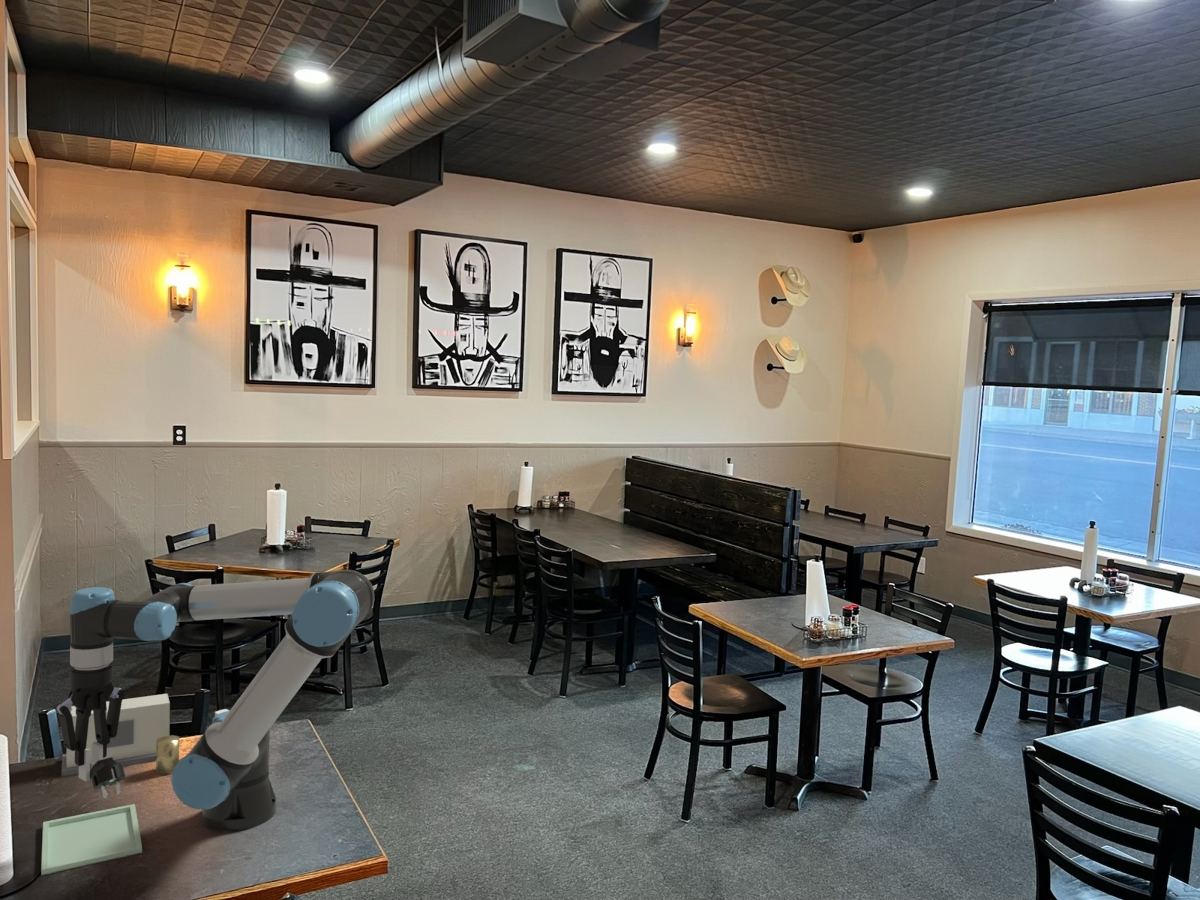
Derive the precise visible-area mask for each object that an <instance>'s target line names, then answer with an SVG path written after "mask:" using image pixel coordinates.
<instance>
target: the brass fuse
mask: <svg viewBox="0 0 1200 900" xmlns="http://www.w3.org/2000/svg"><path fill="white" fill-rule="evenodd" d="M179 760H180V736H178V735H172V734H171V735H170V734H169V736H164V737H161V738H159V739H157V741H156V761H155V765H156V766H155V773H156V775H158V776H170V775H172V772H173V770H174V768H175V766H176V765H177V763H178V762H179Z"/></svg>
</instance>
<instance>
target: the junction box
mask: <svg viewBox="0 0 1200 900" xmlns="http://www.w3.org/2000/svg"><path fill="white" fill-rule="evenodd" d="M109 701H110V700H109ZM109 701H108V700H107V701H106V706H107V711H106V720H107V714H108V707H109ZM170 702H171V701H170V699H169V694H168V693H162V694H155V695H147V696H139V697H132V698H125V699H124V698H123V700H122V704H121V710H120V717H119V723H118V730H117V735H116V737H114V738H110V739H109V740H110V743H109V744H107V755H106V757H105V758H103V759H107V758H110V757H112V758H113V760H114V761H115V762H118V763H120V764H122V765H123V767H127V766H133V765H139V764H145V763H150V762H151V763H152V762H156V741H157V739H159V738H161V737H164V736H170V724H171V723H170V718H171V717H170V714H171V712H170V711H171V710H170V709H171V708H170V707H171V703H170ZM71 707H72V711H71V714H72V718H73V725H74V731H75V727H76V717H77V715H76V707H75V706H74V705H71ZM93 742H97V740H96V735H95V724H94V714H93V710H92V711H91V716H90V717H89V725H88V734H87V743H86V748H89V749H90V770H91V768H92V743H93ZM61 755H62V756H61V777H69V776H75V775H79V766H78V765H76V764H75V750H74V751H71V750H69V749H67V748H66V753H63V754H61Z"/></svg>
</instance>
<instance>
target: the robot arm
mask: <svg viewBox="0 0 1200 900" xmlns="http://www.w3.org/2000/svg"><path fill="white" fill-rule="evenodd" d="M374 602H375V590H374V587H373V584H372V582H371V581H370V580H369V578H368V577H366V576H365V575H364V573H363V574H362V573H361V572H359V571H357V570H352V569H339V570H329V571H319V572H317V571H316V572H314V573H312V574H311V576H310V577H304V578H303V577H302V578H288V579H273V580H272V579H271V580H257V581H243V582H231V583H230V582H229V583H215V584H202V585H193V584H191V583H188V582H187V583H186V582H181V583H176V584H172V585H170V586H168V587H166V588H165V589H163V590H161V591H158V592H157V593H154V594H152V595H149V596H147V597H146V598H143V599H141V600H137V601H135V600H134V601H133V600H119V599H115V593H114V590H113V589H112V588H108V587H103V586H96V587H95V586H94V587H85V588H82V589H79V590H78V589H77V591H75V592H73V593H72V595H71V597H70V611H69V613H68V614H69V620H70V621H69V622H70V624H69V625H70V642H69V643H70V646H69V647H70V648H69V654H70V655H69V664H70V666H71V667H70V669H69V686H70V691H69V693H68V695H67V699H66V700H65V701H63V702H62V703H56V704H55V705H54V709H55V711H56V713H57V714H58V715H59V716H58V717H59V722H60V727H61V728H60V729H61V734H62V740H63V747H64V748H65V749H66V750H67V749H69V750H71V751H74V750H75V764H76V765H78V766H79V774H78V778H79V779H80V780H83V781H84V782H90V781H91V780H90V749H89V748H86V743H87V734H88V725H89V717H90V716H91V711H92V710H93V714H94V724H95V735H96V740H97V742H93V743H92V766H93V765H94V764H95V763H96V762H97V761H99V760H103V758H105V757H106V755H107V744H109V743H110V740H109V739H110V738H114V737H116V735H117V730H118V723H119V717H120V710H121V704H122V700H123V699H124V698H125V696H126V693H127V691H126V689H124V688H121V687H118V686H117V687H115V686H114V684H113V682H112V681H113V680H114V679H113V678H114V665H113V663H112V662H113V661H114V639H123V640H136V641H144V642H145V641H147V642H152V641H164V640H167V639H168V638H170V637H171V636H172V633H173V632H174V630H175V629H176V625H177V623H179V622H180V623H181V622H195V621H205V620H206V621H207V620H221V619H239V618H253V617H255V618H256V617H271V616H284V615H290V616H289V617H288V618H287V621H285V623H284V630H285V636H284V637H283V638H282V640H281V642H280V643H279V644H278V645H277V646H276V648H275V649H274V650H273V652H272V653H271V655H270V656H269V658H268V659H267V660H266V661H265V663H264V664H263V666H262V667H261V668H260V669H259V671H258V672H257V673H256V675H255V677H253V679H252V680H251V682H249V685H248V686H247V687H246V688H245V690H244V691H243V692H242V694H241V695H240V697H239V698H238V699H237V700H236V702H235V703H234V704H233V706H232V707H231V709H230V710H229V711H226V712H222V713H219V714H217V715H216V716H215V715H214V716H213V718H212V723H211V724H210V725H209V726H208V727H207V728H206V730H204V732H203V734H202V735H201V736H200V738H199V739H198V741H197V742H196V743H195V745H194V746H193V747H192V748H191V750H189V752H188V753H187V754H186V755H184V756H183V757H182V758H179V762H178V763H177V765H176V766H175V768H174V770H173V772H172V774H171V776H170V777H171V779H170V781H171V786H172V787H173V789H172V790H173V793H174V795H175V796H176V797H177V799H178V800H179V801H180V802H181V803H182V804H184V805H185V806H187V807H189V808H191V809H195V810H199V811H201V810H202V813H201V815H202V816H201V817H202V818H201V819H202V823H203V825H204V826H205V827H207V828H208V829H210V830H213V831H218V832H238V831H245V830H249V829H252V828H256V827H258V826H261V825H263V824H265V823H267V822H268V821H270V820H271V819H272V818H273V817H274V815H275V814H276V813H277V798H276V795H275V794H276V793H275V791H274V789H273V786H272V782H271V780H270V777H269V775H270V771H269V769H270V739H271V738H270V737H271V735H270V734H271V728H272V726H273V725H274V723H275V722H276V721H277V719H278V718H279V717H280V715H281V714H282V713H283V711H284V710H285V709H286V708H287V706H288V705H289V703H290V702H291V700H292V699H293V698H294V697H295V696H296V694H297V693H298V691H299V690H300V689H301V687H302V686H303V684H304V683H305V682H306V681H307V679H308V678H309V677H310V676H311V674H312V672H313V671H314V670H315V669H316V667H317V666H318V664H319V663H320V662H321V661H322V659H326V658H332V657H333V656H334V655H335V654H336V653H337V651H339V649H340V648H341V646H342V645H343V644H344V643H345V641H346V640H347V638H349V635H350V634H351V633H352V631H353V630H355V628H356V626H358V625H359V624H360V623H361V622H362V621H363V620H364V619H365V618H366V617H367V616H369V614H370V612H371V611H372V609H373V607H374ZM108 700H109V707H108V714H107V720H106V711H107V706H106V702H108ZM71 706H75V707H76V715H77V717H76V727H75V731H74V725H73V718H72V714H71V711H72V707H71Z"/></svg>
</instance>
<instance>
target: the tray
mask: <svg viewBox="0 0 1200 900" xmlns="http://www.w3.org/2000/svg"><path fill="white" fill-rule="evenodd" d="M41 843H42V844H41V865H40V866H41V870H40V872H41V875H40V876H42V877H43V876H46V875H51V874H53V873H59V872H63V871H67V870H72V869H73V870H74V869H77V868H81V867H85V866H89V865H94V864H99V863H104V862H107V861H108V862H109V861H112V860H116V859H121V858H125V857H130V856H134V855H138V854H142V853H143V844H142V838H141V833H140V826H139V820H138V813H137V808H136V803H135V804H134V803H133V804H129V805H128V804H127V805H122V806H119V807H113V808H108V809H101V810H98V811H93V812H87V813H82V814H77V815H76V814H75V815H72V816H67V817H63V818H62V817H61V818H56V819H51V820H47V821H43V823H42V842H41Z"/></svg>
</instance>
